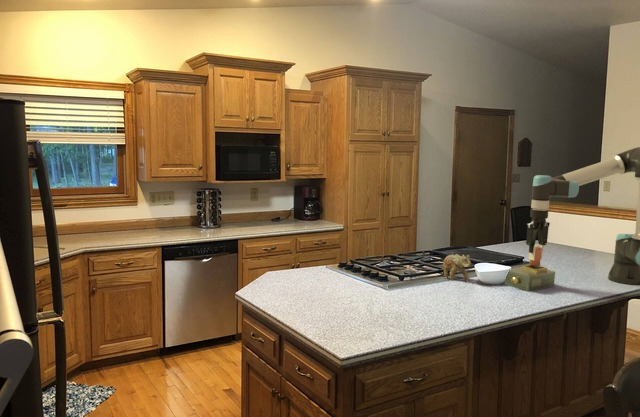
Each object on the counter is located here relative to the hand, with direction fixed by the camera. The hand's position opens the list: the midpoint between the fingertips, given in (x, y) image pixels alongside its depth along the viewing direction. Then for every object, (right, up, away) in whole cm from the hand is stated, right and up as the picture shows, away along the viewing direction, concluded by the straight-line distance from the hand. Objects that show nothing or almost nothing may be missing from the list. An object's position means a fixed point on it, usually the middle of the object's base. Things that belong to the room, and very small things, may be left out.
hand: (535, 259), depth 246 cm
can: (0, -3, 0) cm, 3 cm away
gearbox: (-4, -12, 0) cm, 13 cm away
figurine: (-35, -10, +9) cm, 37 cm away
